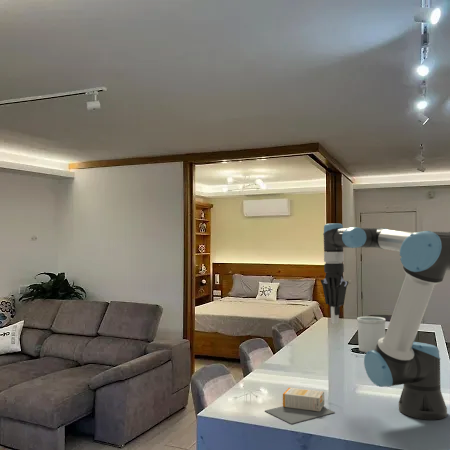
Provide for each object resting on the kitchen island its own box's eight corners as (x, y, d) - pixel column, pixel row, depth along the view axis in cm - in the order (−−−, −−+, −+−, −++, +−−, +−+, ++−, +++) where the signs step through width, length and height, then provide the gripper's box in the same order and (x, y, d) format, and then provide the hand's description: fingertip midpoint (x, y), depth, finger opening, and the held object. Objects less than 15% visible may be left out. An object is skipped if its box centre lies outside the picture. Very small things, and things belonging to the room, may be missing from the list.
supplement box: (282, 407, 161) (320, 412, 155) (282, 393, 161) (319, 397, 156) (289, 400, 168) (325, 405, 163) (288, 387, 168) (324, 391, 163)
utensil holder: (383, 354, 242) (382, 321, 242) (354, 351, 249) (354, 319, 250) (388, 349, 254) (387, 317, 255) (361, 346, 262) (360, 315, 263)
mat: (334, 412, 156) (334, 412, 156) (291, 424, 146) (291, 423, 146) (306, 401, 168) (306, 400, 168) (264, 411, 158) (264, 410, 158)
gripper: (353, 263, 178) (354, 324, 177) (328, 262, 189) (329, 320, 188) (339, 263, 174) (340, 326, 173) (315, 262, 185) (316, 321, 184)
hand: (334, 323), depth 180 cm, fingers closed
